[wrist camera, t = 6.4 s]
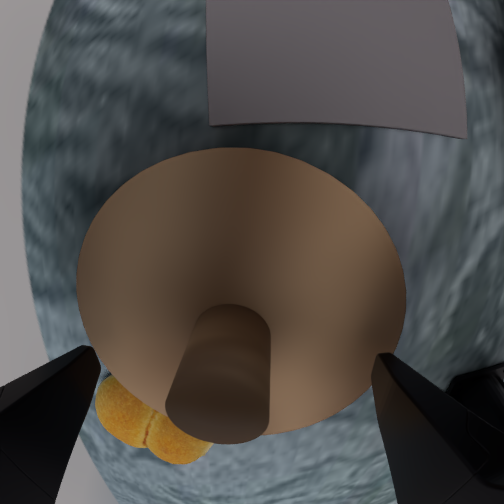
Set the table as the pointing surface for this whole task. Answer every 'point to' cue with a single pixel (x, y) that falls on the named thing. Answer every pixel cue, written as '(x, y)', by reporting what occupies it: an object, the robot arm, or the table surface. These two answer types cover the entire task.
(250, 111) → the mat
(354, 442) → the table surface
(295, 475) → the table surface
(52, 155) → the table surface
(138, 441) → the bread roll
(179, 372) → the lid
